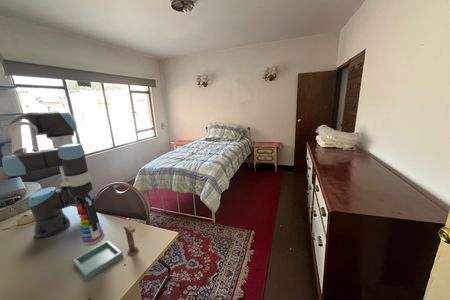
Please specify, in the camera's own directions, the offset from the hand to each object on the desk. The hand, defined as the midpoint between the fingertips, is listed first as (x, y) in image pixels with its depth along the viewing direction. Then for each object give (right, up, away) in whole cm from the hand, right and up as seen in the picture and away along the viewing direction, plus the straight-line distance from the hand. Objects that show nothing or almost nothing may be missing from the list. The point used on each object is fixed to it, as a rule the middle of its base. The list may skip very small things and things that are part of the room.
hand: (92, 233), depth 79 cm
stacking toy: (0, -4, +1) cm, 4 cm away
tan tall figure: (+14, -12, +8) cm, 19 cm away
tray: (+1, -14, +4) cm, 14 cm away
